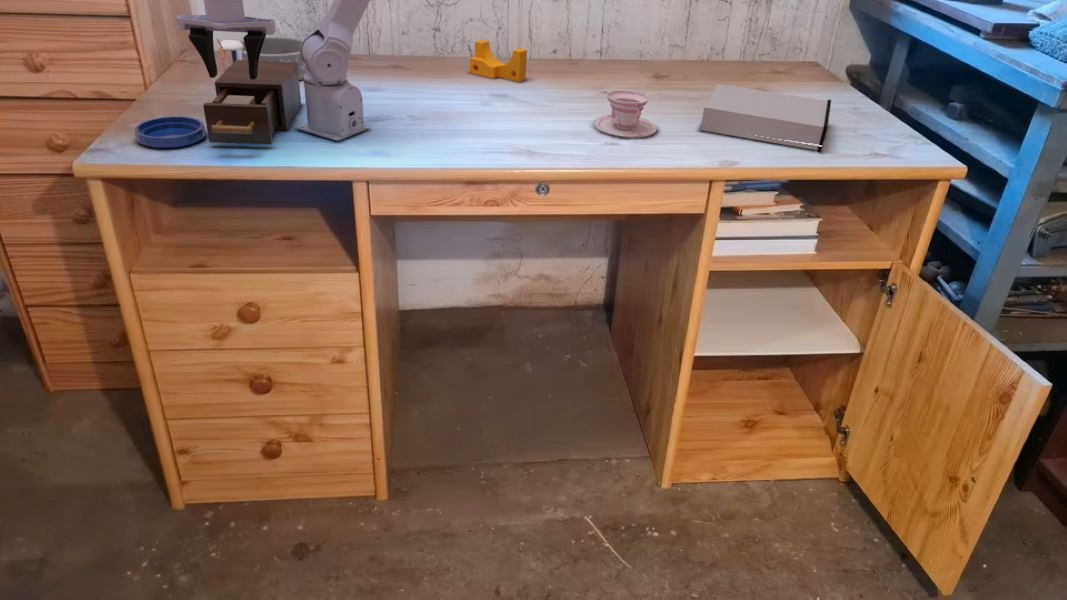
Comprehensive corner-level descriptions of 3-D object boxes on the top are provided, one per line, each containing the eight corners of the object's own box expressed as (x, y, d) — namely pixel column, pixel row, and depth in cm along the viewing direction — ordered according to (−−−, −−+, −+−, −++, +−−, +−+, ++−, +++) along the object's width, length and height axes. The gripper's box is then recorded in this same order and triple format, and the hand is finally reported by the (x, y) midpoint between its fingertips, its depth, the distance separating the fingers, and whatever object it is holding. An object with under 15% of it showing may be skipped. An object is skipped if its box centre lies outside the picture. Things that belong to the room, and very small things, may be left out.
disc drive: (821, 152, 143) (828, 126, 141) (699, 131, 149) (704, 105, 147) (825, 124, 158) (831, 100, 155) (714, 106, 164) (718, 82, 161)
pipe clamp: (469, 72, 174) (470, 43, 171) (481, 69, 177) (481, 39, 174) (514, 83, 169) (515, 53, 165) (525, 79, 172) (526, 49, 169)
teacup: (582, 120, 151) (586, 88, 148) (636, 115, 155) (640, 84, 152) (612, 141, 142) (616, 108, 139) (668, 135, 146) (673, 103, 143)
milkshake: (216, 89, 154) (208, 37, 149) (237, 82, 158) (229, 32, 153) (233, 93, 152) (226, 41, 147) (253, 87, 157) (247, 35, 151)
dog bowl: (280, 54, 177) (278, 30, 175) (336, 71, 169) (334, 46, 166) (215, 68, 165) (211, 43, 162) (271, 88, 157) (268, 61, 154)
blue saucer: (219, 136, 133) (217, 125, 132) (166, 154, 125) (164, 142, 124) (176, 123, 137) (174, 112, 136) (122, 140, 129) (120, 128, 128)
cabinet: (286, 130, 137) (281, 84, 133) (221, 128, 136) (214, 82, 132) (301, 105, 149) (297, 62, 145) (241, 102, 148) (235, 59, 144)
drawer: (266, 153, 126) (261, 114, 122) (202, 151, 125) (195, 112, 121) (286, 118, 140) (283, 83, 136) (230, 116, 139) (224, 81, 136)
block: (231, 120, 134) (227, 95, 132) (257, 121, 134) (254, 96, 132) (224, 129, 130) (220, 103, 128) (251, 130, 131) (248, 104, 128)
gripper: (164, -9, 117) (180, 81, 124) (264, -3, 118) (273, 86, 125) (179, -17, 123) (193, 69, 130) (274, -12, 124) (282, 73, 131)
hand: (233, 77), depth 128 cm, fingers open, 6 cm apart
